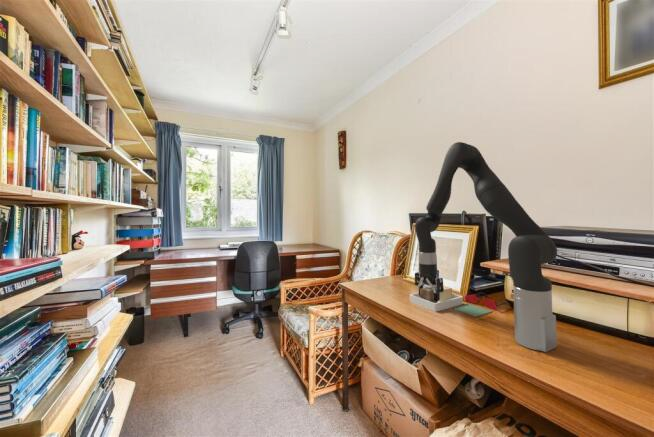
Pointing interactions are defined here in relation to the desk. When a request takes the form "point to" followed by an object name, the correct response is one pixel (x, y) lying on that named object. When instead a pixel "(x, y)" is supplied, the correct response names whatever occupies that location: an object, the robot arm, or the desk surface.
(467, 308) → the felt mat
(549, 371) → the desk surface
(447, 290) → the kraft block
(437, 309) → the bin
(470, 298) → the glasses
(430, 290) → the labelled block
